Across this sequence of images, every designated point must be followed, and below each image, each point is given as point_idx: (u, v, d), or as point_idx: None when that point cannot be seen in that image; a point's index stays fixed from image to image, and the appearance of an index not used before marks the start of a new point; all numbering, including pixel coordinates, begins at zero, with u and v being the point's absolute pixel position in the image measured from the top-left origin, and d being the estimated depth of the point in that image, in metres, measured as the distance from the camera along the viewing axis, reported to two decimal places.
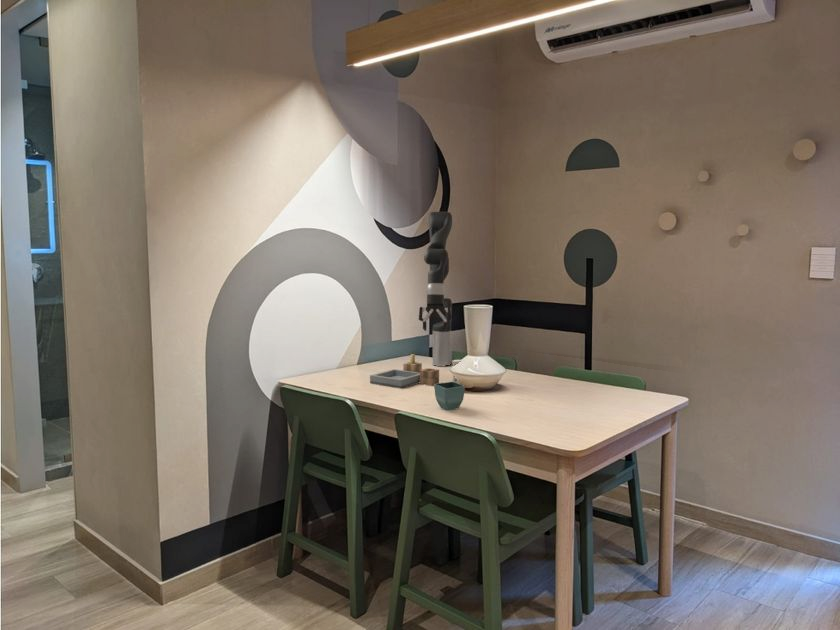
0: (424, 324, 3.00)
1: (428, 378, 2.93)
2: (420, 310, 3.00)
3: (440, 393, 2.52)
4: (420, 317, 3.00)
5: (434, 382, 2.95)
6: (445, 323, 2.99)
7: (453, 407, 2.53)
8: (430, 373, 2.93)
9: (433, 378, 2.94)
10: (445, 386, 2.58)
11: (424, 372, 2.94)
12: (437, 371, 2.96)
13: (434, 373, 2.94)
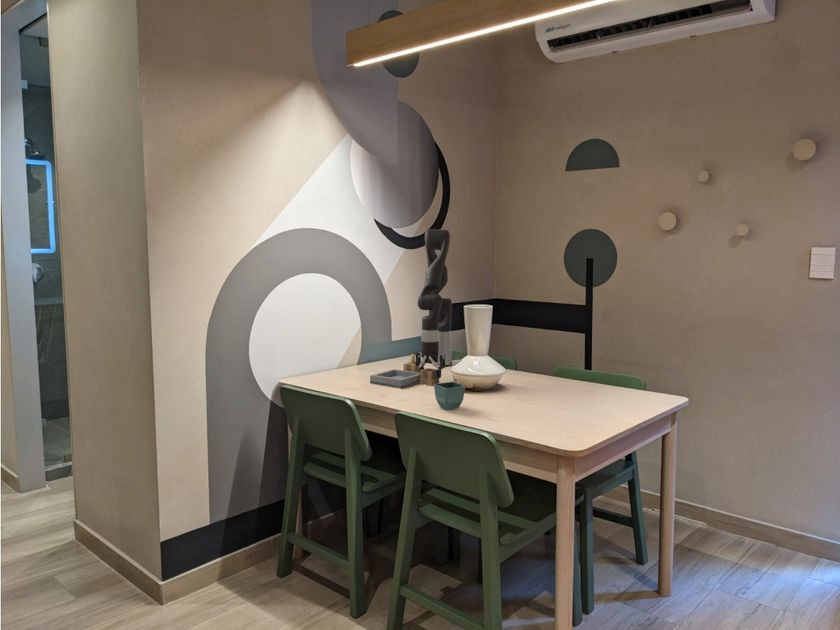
0: None
1: (428, 378, 2.93)
2: (416, 356, 2.98)
3: (440, 393, 2.52)
4: (416, 363, 2.98)
5: (434, 382, 2.95)
6: (438, 371, 2.92)
7: (453, 407, 2.53)
8: (430, 373, 2.93)
9: (433, 378, 2.94)
10: (445, 386, 2.58)
11: (424, 372, 2.94)
12: None
13: (434, 373, 2.94)
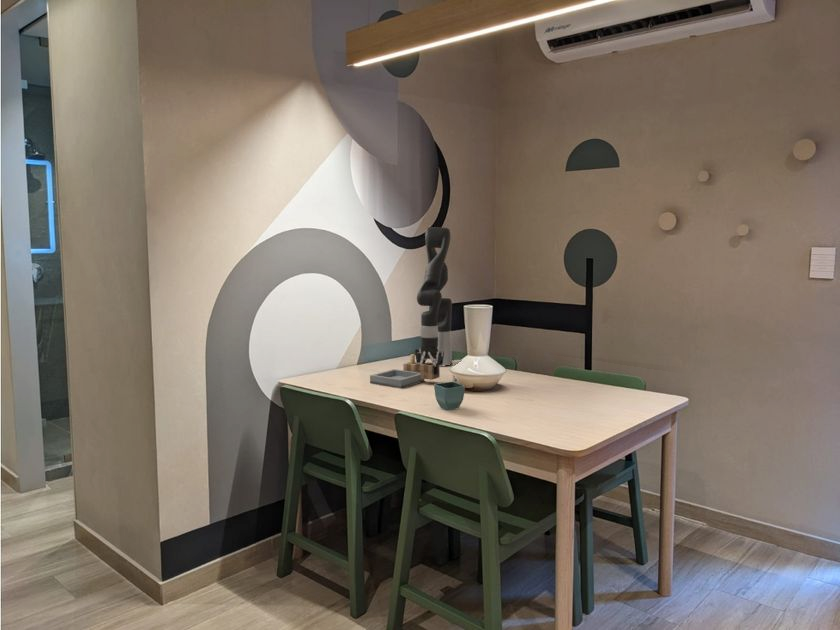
0: None
1: (428, 372, 2.94)
2: (416, 352, 2.98)
3: (440, 393, 2.52)
4: (417, 359, 2.98)
5: (434, 376, 2.95)
6: (435, 367, 2.94)
7: (453, 407, 2.53)
8: (430, 367, 2.93)
9: (433, 372, 2.94)
10: (445, 386, 2.58)
11: (424, 366, 2.95)
12: None
13: None
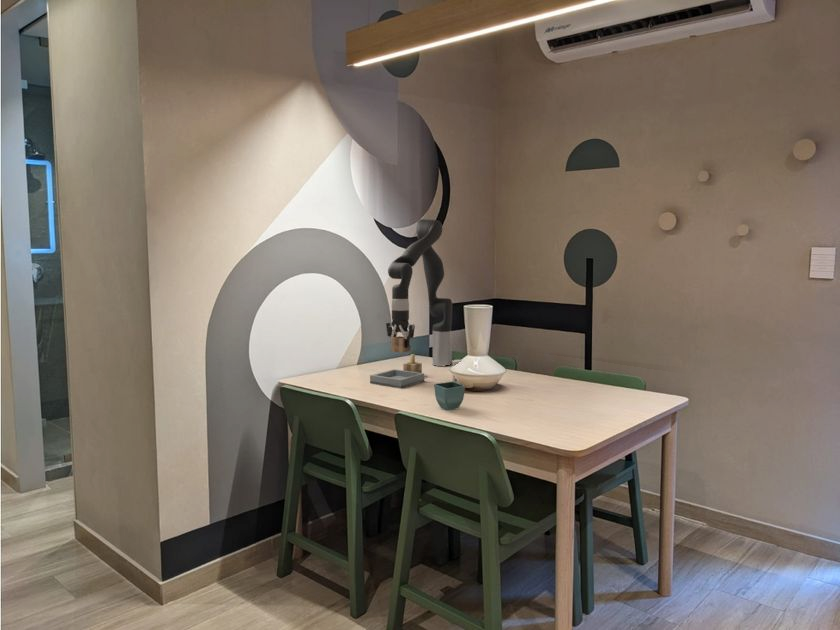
0: None
1: (399, 345, 2.94)
2: (387, 326, 2.99)
3: (440, 393, 2.52)
4: (388, 333, 2.99)
5: (405, 349, 2.96)
6: (406, 340, 2.94)
7: (453, 407, 2.53)
8: (401, 340, 2.93)
9: (404, 345, 2.94)
10: (445, 386, 2.58)
11: (395, 339, 2.95)
12: None
13: None
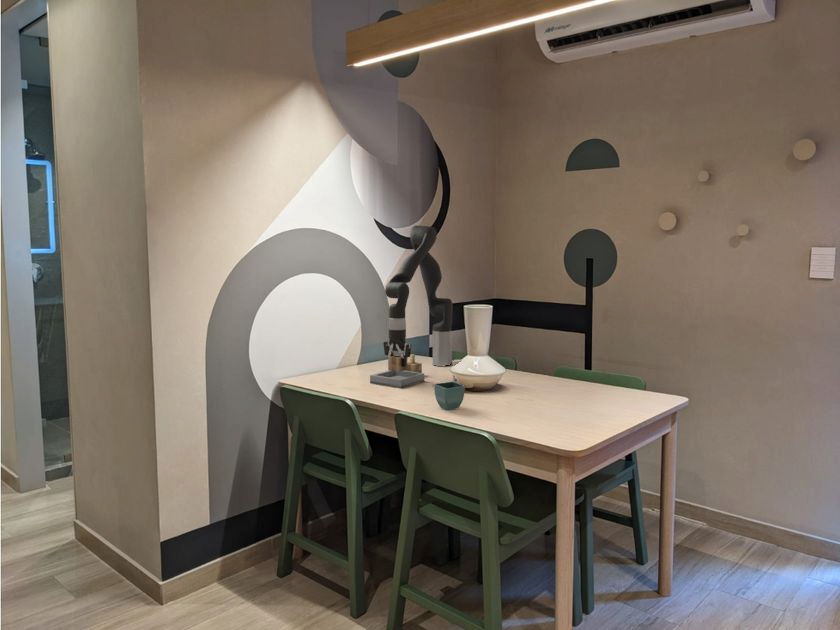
0: None
1: (396, 364, 2.96)
2: (384, 345, 3.00)
3: (440, 393, 2.52)
4: (386, 352, 3.00)
5: (402, 368, 2.97)
6: (403, 359, 2.96)
7: (453, 407, 2.53)
8: (398, 359, 2.95)
9: None
10: (445, 386, 2.58)
11: (392, 358, 2.96)
12: None
13: None
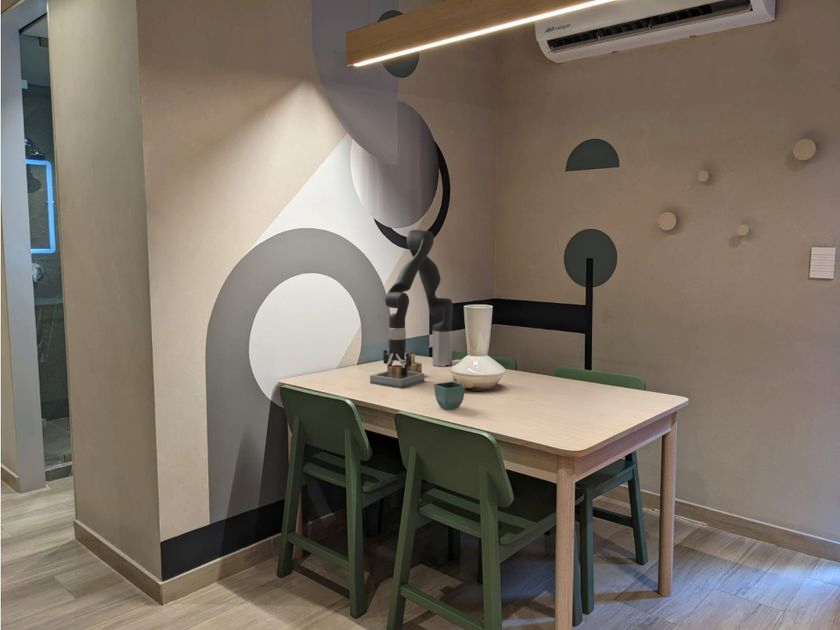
0: None
1: (396, 374, 2.96)
2: (384, 353, 3.01)
3: (440, 393, 2.52)
4: (384, 360, 3.01)
5: (402, 378, 2.98)
6: (404, 368, 2.96)
7: (453, 407, 2.53)
8: (398, 369, 2.95)
9: (401, 374, 2.96)
10: (445, 386, 2.58)
11: (392, 368, 2.97)
12: None
13: None
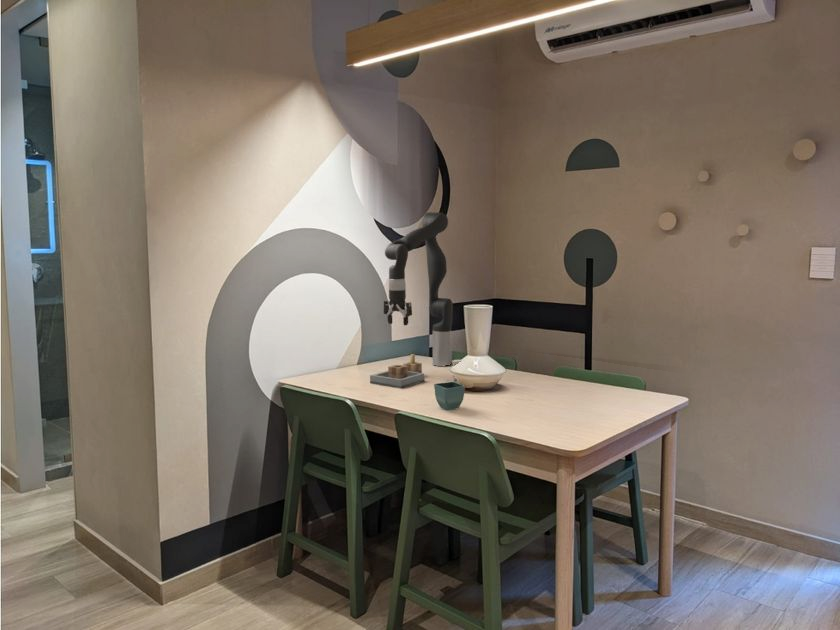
0: (388, 318, 3.10)
1: (396, 374, 2.96)
2: (384, 304, 3.10)
3: (440, 393, 2.52)
4: (384, 311, 3.10)
5: (402, 378, 2.98)
6: (405, 318, 3.05)
7: (453, 407, 2.53)
8: (398, 369, 2.95)
9: (401, 374, 2.96)
10: (445, 386, 2.58)
11: (392, 368, 2.97)
12: (405, 367, 2.99)
13: (402, 369, 2.97)
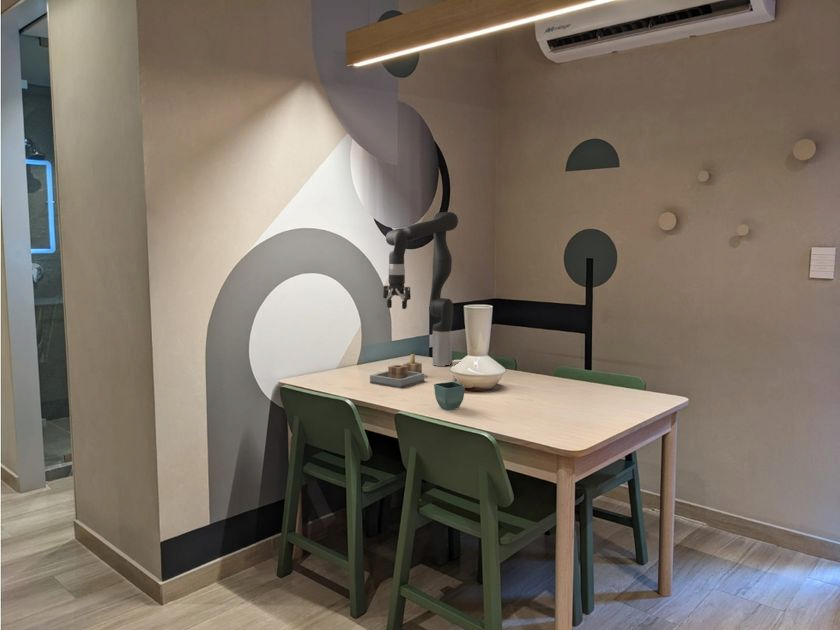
0: (387, 302, 3.20)
1: (396, 374, 2.96)
2: (384, 289, 3.20)
3: (440, 393, 2.52)
4: (384, 295, 3.21)
5: (402, 378, 2.98)
6: None
7: (453, 407, 2.53)
8: (398, 369, 2.95)
9: (401, 374, 2.96)
10: (445, 386, 2.58)
11: (392, 368, 2.97)
12: (405, 367, 2.99)
13: (402, 369, 2.97)
